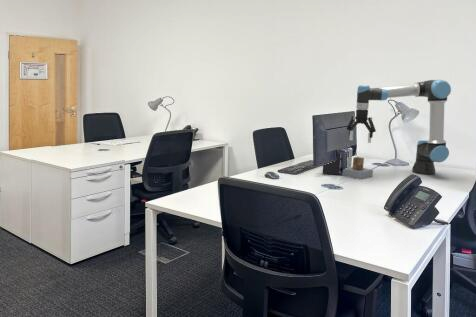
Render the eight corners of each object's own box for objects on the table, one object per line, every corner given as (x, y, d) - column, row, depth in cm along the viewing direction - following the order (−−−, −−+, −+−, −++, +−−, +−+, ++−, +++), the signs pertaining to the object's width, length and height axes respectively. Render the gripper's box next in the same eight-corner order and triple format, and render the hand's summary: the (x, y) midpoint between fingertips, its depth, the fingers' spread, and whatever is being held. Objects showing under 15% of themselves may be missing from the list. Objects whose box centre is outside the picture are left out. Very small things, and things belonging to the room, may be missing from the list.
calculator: (338, 173, 284) (339, 152, 281) (339, 175, 280) (340, 153, 277) (322, 173, 285) (323, 151, 282) (323, 174, 281) (324, 152, 278)
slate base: (372, 177, 276) (372, 170, 275) (359, 180, 268) (360, 172, 267) (354, 173, 287) (355, 166, 286) (342, 176, 278) (342, 168, 278)
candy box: (337, 167, 306) (338, 145, 303) (344, 167, 307) (346, 145, 304) (343, 171, 293) (344, 148, 290) (351, 171, 293) (352, 148, 290)
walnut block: (362, 169, 276) (363, 157, 275) (359, 170, 273) (360, 158, 271) (356, 168, 280) (357, 156, 278) (352, 169, 276) (353, 157, 275)
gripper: (342, 108, 276) (340, 139, 280) (376, 110, 258) (374, 144, 262) (348, 108, 281) (347, 139, 285) (382, 110, 263) (380, 143, 267)
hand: (360, 141), depth 273 cm, fingers open, 13 cm apart
